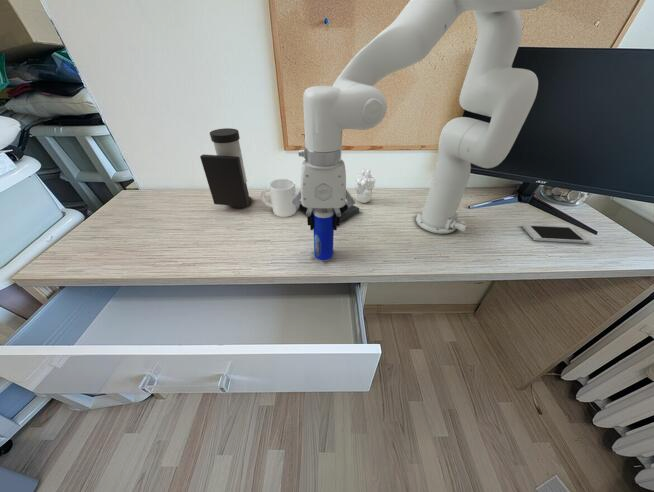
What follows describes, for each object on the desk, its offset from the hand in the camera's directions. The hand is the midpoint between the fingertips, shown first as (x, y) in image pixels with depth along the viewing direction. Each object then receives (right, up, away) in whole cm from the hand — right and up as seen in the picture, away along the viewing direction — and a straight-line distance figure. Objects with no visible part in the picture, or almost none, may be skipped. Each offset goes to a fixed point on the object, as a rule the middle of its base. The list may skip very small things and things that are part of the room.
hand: (323, 226), depth 65 cm
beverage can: (0, -8, +6) cm, 10 cm away
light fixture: (-31, +10, +28) cm, 43 cm away
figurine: (+14, +11, +31) cm, 36 cm away
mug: (-16, +7, +25) cm, 30 cm away
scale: (+1, +7, +25) cm, 26 cm away
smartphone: (+71, -2, +15) cm, 73 cm away
